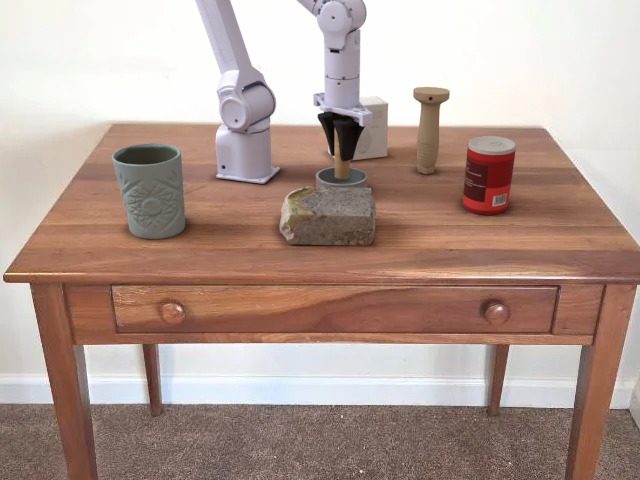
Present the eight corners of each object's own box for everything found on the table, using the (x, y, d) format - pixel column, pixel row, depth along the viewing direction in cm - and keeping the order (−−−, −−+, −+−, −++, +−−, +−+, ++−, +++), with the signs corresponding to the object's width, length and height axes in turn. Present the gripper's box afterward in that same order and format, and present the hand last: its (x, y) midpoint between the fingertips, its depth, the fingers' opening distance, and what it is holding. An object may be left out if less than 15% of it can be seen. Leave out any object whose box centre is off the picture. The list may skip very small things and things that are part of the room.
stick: (340, 180, 127) (340, 131, 123) (331, 175, 129) (331, 127, 125) (352, 177, 129) (353, 128, 124) (343, 172, 130) (344, 124, 126)
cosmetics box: (375, 146, 151) (377, 94, 145) (387, 157, 146) (389, 103, 140) (326, 152, 148) (326, 98, 142) (337, 162, 143) (337, 107, 137)
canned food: (511, 201, 128) (519, 138, 122) (503, 218, 122) (511, 153, 116) (467, 195, 130) (473, 133, 124) (457, 212, 124) (463, 147, 118)
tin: (308, 197, 128) (308, 181, 126) (325, 179, 135) (325, 164, 134) (358, 204, 126) (359, 187, 124) (373, 185, 133) (373, 169, 132)
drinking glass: (156, 247, 111) (145, 169, 104) (109, 231, 115) (96, 155, 109) (203, 223, 118) (195, 150, 112) (156, 209, 123) (146, 138, 116)
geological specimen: (380, 215, 110) (278, 210, 108) (376, 251, 113) (277, 248, 112) (374, 186, 119) (280, 181, 117) (371, 220, 122) (279, 217, 121)
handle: (442, 177, 137) (449, 95, 129) (408, 175, 138) (412, 93, 130) (443, 168, 141) (450, 88, 133) (409, 166, 142) (414, 86, 134)
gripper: (297, 69, 123) (299, 149, 130) (347, 88, 113) (346, 174, 120) (332, 64, 126) (333, 142, 134) (384, 82, 116) (381, 166, 124)
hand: (341, 157), depth 127 cm, fingers closed on stick, 2 cm apart
